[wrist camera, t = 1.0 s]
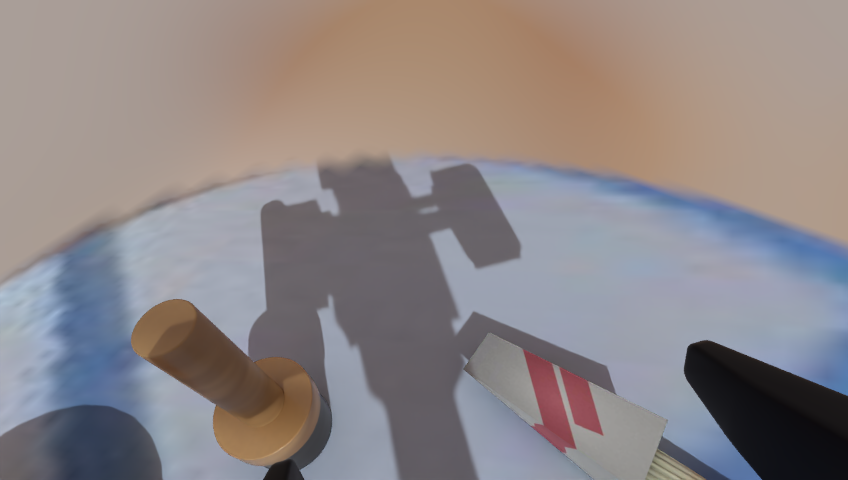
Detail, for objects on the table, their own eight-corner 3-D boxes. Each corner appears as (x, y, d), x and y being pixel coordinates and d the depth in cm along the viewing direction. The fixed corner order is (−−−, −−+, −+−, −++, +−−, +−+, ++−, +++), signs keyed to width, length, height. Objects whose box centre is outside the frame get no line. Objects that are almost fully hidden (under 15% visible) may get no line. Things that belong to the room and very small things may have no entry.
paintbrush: (496, 313, 24) (942, 589, 16) (492, 333, 26) (883, 585, 18) (458, 366, 22) (937, 706, 14) (457, 382, 24) (872, 685, 16)
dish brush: (324, 480, 22) (201, 405, 12) (238, 473, 23) (52, 397, 13) (343, 387, 25) (256, 266, 15) (266, 383, 26) (134, 265, 16)
